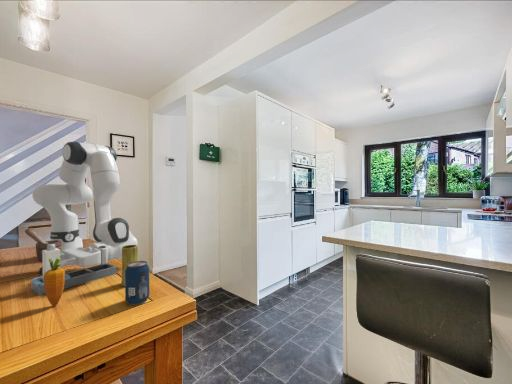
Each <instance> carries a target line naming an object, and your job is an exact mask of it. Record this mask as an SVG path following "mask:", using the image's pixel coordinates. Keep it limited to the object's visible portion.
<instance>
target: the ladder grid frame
mask: <svg viewBox="0 0 512 384" xmlns="http://www.w3.org/2000/svg"><path fill="white" fill-rule="evenodd" d="M117 267H118V266H117V265H113V264H110V263H108V262H107V264H103V265H101V264H98V265H92V266H87V267H83V268H82V269H77V270H72V271H68V272H65V284H64V289H63V290H65V289H68V288H71V287H76V286H78V285H82V284H86V283H88V282H89V283H90V282H93V281H95V280H99V279H103V278H106V277H110V276H113V275H117V274H118V268H117ZM30 286H31V289H30V290H31V291H32V292H34V293H35V294H37V295H38V296H39V297H40V296H42V295H46V292H45V287H44V283H43V275H42V276H37V277H34V278H32V279H31V282H30Z"/></svg>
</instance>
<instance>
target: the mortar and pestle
mask: <svg viewBox="0 0 512 384" xmlns="http://www.w3.org/2000/svg"><path fill="white" fill-rule="evenodd" d="M24 232H25V234H26V235H27V236H28V237H30V239H32V240H34V241H35V242H36V243H35V254H36V258H37V260H38V261H39V263H42V250H47V245H48V244H55V248H57V249H60V254H61V251H62V247H61V246H62V244H61V243H62V242H61V240H50V239H49V240H44V239H43V238H42V237H41V235H39V233H38V231H36V230H35V229H34V228H33V227H27V229H26V228H25V230H24ZM38 274H39V275H40V274H41V275H43V267H42V266H41V267H40V268H39V270H38Z"/></svg>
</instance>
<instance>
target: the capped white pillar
mask: <svg viewBox="0 0 512 384" xmlns="http://www.w3.org/2000/svg"><path fill="white" fill-rule="evenodd" d="M57 258H60V249H57V248H55V244H48V245H47V250H42V262H41V263H42V264H41V265H42V266H41V267H43V274H42V276H43V283H44V274H45V273H46V272H47V271H48V270H51V266H50V262H49V259H52V260H53V265H54V262H55V260H56V259H57ZM58 264H59V263H58ZM58 268H61V265H60V266H59V267H58Z"/></svg>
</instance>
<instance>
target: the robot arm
mask: <svg viewBox="0 0 512 384" xmlns="http://www.w3.org/2000/svg"><path fill="white" fill-rule="evenodd" d="M117 156H118V155H117V152H116V150H115V148H113V147H110V146H108V145H102V144H99V143H98V144H97V143H91V142H79V141H68V142H67V143H65V144H64V145H63V148H62V157H63V160H62V162H61V166H60V169H59V172H58V177H59V179H61V181H63V182H64V183H65V184H55V183H54V184H53V183H51V184H42V185H37V186H36V187H35V188H34V189H33V191H32V200H33V201H34V202H35V203H36V204H37V205H39V206H41V207H42V208H44V209H45V210H46V211H47V213H48V214H49V217H50V222H51V231H50V234H49V241H50V240H61V242H62V243H61V244H62V246H61V247H62V251H61V254H60V259H62V260H61V261H60V262H59V264H61V265H60V267H64V266H74V265H75V266H79V267H81V268H82V267H83V268H87V267H93V266H97V265H103V264H107V263H108V262H110V261H112V260H118V259H122V247H123V246H127V245H137V246H138V247H139V244H138V243H139V242H138V239H137V238H136V236H134V235H133V234H132V232H131V230H130V226H129V223H128V222H127V220H125V219H124V218H121V217H114V218H112V214H111V201H112V199H113V197H114V196H115V194H116V192H117V191H118V190H119V188H120V185H121V183H120V182H121V178H120V173H119V167H118V165H117V159H118V157H117ZM89 171H90V172H89ZM88 173H90V179H91V184H92V189H91V188H90V187H89V186H88V185H87V184H86V179H87V178H86V177H87V175H88ZM92 199H93V207H94V209H93V211H94V218H95V219H94V220H95V223H94V227H93V230H92V237H93V239H94V240H95V242H92V243H90V244H89V246H86V247H84V246H83V244H84V243H83V239H82V238H81V237H80V229H79V217H78V215H77V213H75V212H72V211H70V210H68V209H67V207H66V206H68V205H69V206H70V205H82V204H86V203H89V202H90V201H91V200H92Z"/></svg>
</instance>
